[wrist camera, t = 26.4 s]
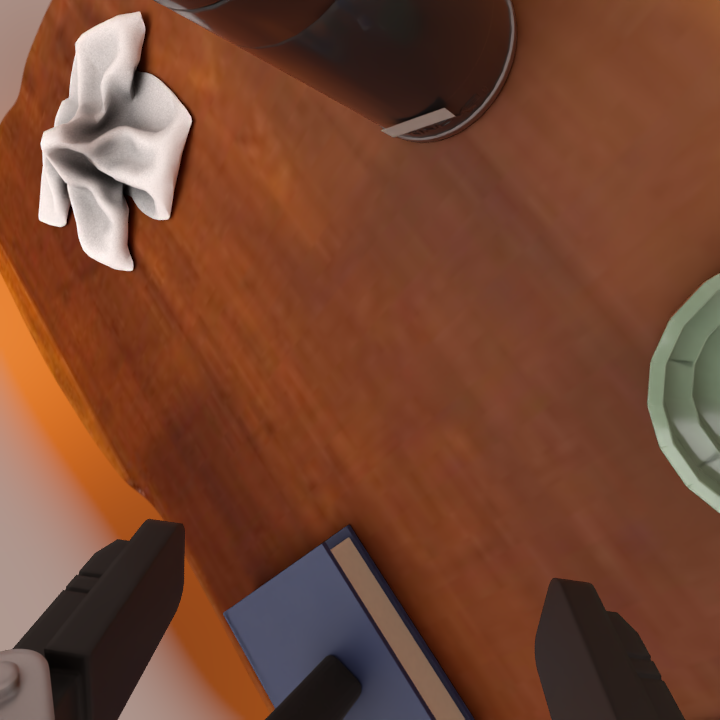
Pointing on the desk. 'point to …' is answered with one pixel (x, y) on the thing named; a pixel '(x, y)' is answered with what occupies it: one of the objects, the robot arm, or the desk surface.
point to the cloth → (112, 142)
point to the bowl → (690, 391)
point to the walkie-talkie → (321, 694)
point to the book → (343, 635)
